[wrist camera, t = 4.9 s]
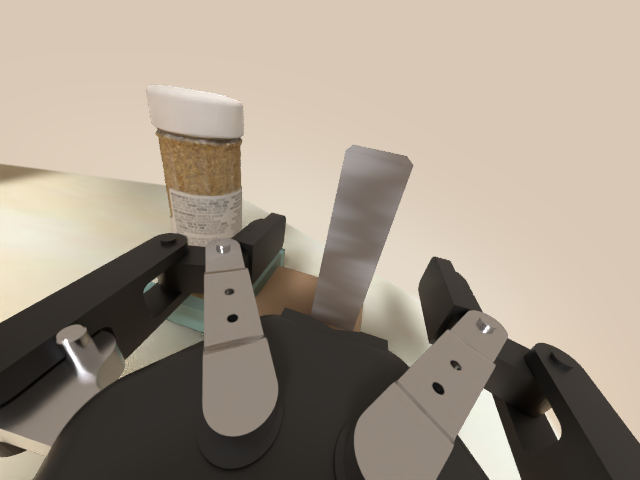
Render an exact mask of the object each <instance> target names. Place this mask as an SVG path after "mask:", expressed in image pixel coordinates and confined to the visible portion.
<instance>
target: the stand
mask: <svg viewBox="0 0 640 480" xmlns="http://www.w3.org/2000/svg"><path fill="white" fill-rule="evenodd" d="M412 168H413V164H412V163H411V162H410V160H409V159H408V157H407V156H404V155H399V154H394V153H390V152H385V151H380V150H376V149H371V148H366V147H361V146H357V145H352V146H351V147H350V148H348V149H347V150H346V152H345V157H344V161H343V166H342V170H341V175H340V180H339V184H338V189H337V194H336V198H335V203H334V208H333V212H332V217H331V222H330V226H329V231H328V236H327V240H326V245H325V250H324V254H323V259H322V264H321V269H320V273H319V278H318V277H315V276H312V275H308V274H305V273H301V272H298V271H295V270H291V269H288V268H284V267H283V263H284V254H285V249H283V248H281V250H280V252H279V253H278V254H277V255H276V257H275V258H274V259H273V260H272V262H271V263H270V264H269V265H268V267H267V268H266V269H265V270H264V272H263V273H262V274H261V276H260V277H259V278H258V279H257V281H256V282H255V283H254V284H253V286H252V287H253V292H254V296H255V300H256V304H257V309H258V313H259V316H263V315H271V314H278V315H281V314H282V312H283V310H284V308H288V309H292V310H295V311H298V312H301V313H304V314H307V315H310V316H311V317H313V318H315V319H317V320H318V321H320V322H322V323H323V324H325V325H327V326H329V327H330V328H332V329H336V330H346V331H356V332H360V327H361V318H362V308H363V302H364V299H365V296H366V294H367V291H368V288H369V285H370V283H371V280H372V277H373V274H374V272H375V269H376V266H377V263H378V261H379V258H380V255H381V252H382V250H383V247H384V244H385V241H386V239H387V236H388V233H389V231H390V228H391V225H392V222H393V220H394V217H395V214H396V211H397V209H398V205H399V203H400V200H401V197H402V195H403V192H404V189H405V187H406V184H407V181H408V178H409V176H410V173H411V170H412ZM154 285H155V283H152V282H150V283H148V285H147V286H146V287H145V289H144V292H143V294H144V293H145V292H146V291H147V290H149V289H150V288H151V287H152V286H154ZM166 320H169V321H172V322H175V323H177V324H180V325H183V326H186V327H189V328H192V329H194V330H197V331H200V332H203V333H204V299H201V298H198V297H195V296H192V295H190V296H189V297H188V298H187V299H186V300H185V301H184V302H183V303H182V304H181V305H180V306H179V307H178V308H177V309H176V310H175V311H174V312H173V313H172V314H171V315H170V316H169V317H168V318H167V319H166Z"/></svg>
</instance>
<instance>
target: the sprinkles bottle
mask: <svg viewBox="0 0 640 480" xmlns="http://www.w3.org/2000/svg"><path fill="white" fill-rule="evenodd" d="M146 93H147V99H148V105H149V112H150V117H151V123H152V124H153V125H154V126H155V127H156V128H157V129H158V130H157V132H156V135H157V136H158V137H159V144H160V150H161V156H162V161H163V168H164V174H165V183H166V189H167V190H166V191H167V194H168V200H169V207H170V214H171V216H170V219H171V225H172V230H173V233H178V234H182V235H184V236H186V237H187V239H188V245H191V246H203V247H206V245H207V244H208V243H209V242H210V241H212V240H215V239H220V238H228V239H230V238H232V237H233V236H234V235H236V234H237V233H238V232H240V231H241V230H242V186H241V170H240V167H241V166H240V165H241V162H240V161H241V160H240V157H241V152H240V146H241V143H242V139H241V138H240V137H242V136H243V133H244V124H243V105H242V103H241V102H240V101H238V100H236V99H233V98H229V97H227V96H223V95H219V94H213V93H208V92H203V91H198V90H192V89H187V88H181V87H175V86H168V85H149V86H147V89H146ZM191 295H192V296H195V297H198V298H201V299H204V294H202V293H192V294H191Z"/></svg>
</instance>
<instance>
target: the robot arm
mask: <svg viewBox="0 0 640 480" xmlns="http://www.w3.org/2000/svg"><path fill="white" fill-rule="evenodd" d="M285 224H286V217H285V216H283V215H279V214H275V213H271V214H270V215H269V216H267V217H266V218H265V219H258V220H255V221H253V222H251V223H250V224H249V225H248V226H246V227H245V228H244V229H242V230H241V231H240V232H238V233H237V234H236V235H234V236H233V237H232V238H230V239H228V238H220V239H215V240H212V241H210V242H209V243H208V244H207V245H206V247H203V246H191V245H188V239H187V237H186V236H184V235H182V234H178V233H167V234H161V235H158V236H156V237H154V238H152V239H150V240H148V241H146V242H145V243H143V244H141V245H139V246H137V247H136V248H134V249H132V250H130V251H128V252H127V253H125V254H123V255H121V256H119V257H118V258H116V259H114V260H112V261H111V262H109V263H107V264H105V265H103V266H102V267H100V268H98V269H96V270H94V271H93V272H91V273H89V274H87V275H85V276H84V277H82V278H80V279H78V280H77V281H75V282H73V283H71V284H69V285H68V286H66V287H64V288H62V289H60V290H59V291H57V292H55V293H53V294H51V295H50V296H48V297H46V298H44V299H43V300H41V301H39V302H37V303H35V304H34V305H32V306H30V307H28V308H26V309H25V310H23V311H21V312H19V313H17V314H16V315H14V316H12V317H10V318H8V319H7V320H5V321H3V322H1V323H0V457H9V456H13V455H16V454H19V453H22V452H24V451H26V450H29V451H32V452H35V453H37V454H40V455H43V456H46V458H45V460H44V462H43V463H42V465H41V467H40V469H39V470H38V472H37V474H36V475H35V477H34V478H33V480H489V478H488V477H487V475H486V474H485V473H484V471H483V470H482V468H481V467H480V465H479V464H478V463H477V461H476V460H475V458H474V457H473V456H472V454H471V453H470V451H469V450H468V448H467V447H466V446H465V444H464V443H463V441H462V440H461V439H460V437H459V436H458V433H459V431H460V429H461V427H462V425H463V424H464V422H465V420H466V418H467V416H468V415H469V413H470V411H471V409H472V408H473V406H474V404H475V402H476V400H477V399H478V397H479V395H480V393H481V391H482V390H483V388H484V389H486V390H487V391H489V392H491V393H492V395H493V398H494V401H495V404H496V407H497V410H498V413H499V416H500V419H501V422H502V425H503V428H504V430H505V433H506V436H507V439H508V442H509V445H510V448H511V451H512V454H513V457H514V460H515V463H516V466H517V468H518V471H519V474H520V477H521V480H640V443H639V442H638V441H637V439H636V438H635V437H634V436H633V434H632V433H631V432H630V430H629V429H628V428H627V426H626V425H625V424H624V422H623V421H622V420H621V418H620V417H619V416H618V414H617V413H616V412H615V410H614V409H613V408H612V406H611V405H610V404H609V402H608V401H607V400H606V398H605V397H604V396H603V394H602V393H601V392H600V390H599V389H598V388H597V387H596V385H595V384H594V382H593V381H592V380H591V378H590V377H589V376H588V374H587V373H586V372H585V370H584V369H583V368H582V367H581V366H580V365H579V364H578V363H577V362H576V361H575V360H574V359H573V358H571V357H570V356H569V355H568V354H566V353H565V352H563V351H561V350H560V349H558V348H556V347H554V346H551V345H549V344H545V343H537V344H536V345H535V346H534V347H533V348H532V349H531V350H530V349H528V348H526V347H524V346H522V345H520V344H518V343H516V342H514V341H512V340H510V339H508V334H507V332H506V330H505V329H504V327H503V326H502V325H501V324H500V323H499V322H498V321H497V320H495V319H494V318H492V317H491V316H489V315H487V314H485V313H483V312H482V310H481V308H480V306H479V304H478V302H477V300H476V298H475V296H474V295H473V293H472V291H471V289H470V287H469V285H468V283H467V281H466V280H465V279H464V278H463V277H462V276H461V275H460V274H459V273H457V272H455V270H454V267H453V265H452V263H451V261H449V260H446V259H442V258H438V257H433V258H432V259H431V260H430V262H429V264H428V266H427V269H426V270H425V272H424V274H423V276H422V278H421V280H420V283H419V288H418V291H419V296H420V301H421V306H422V311H423V316H424V321H425V326H426V330H427V335H428V340H429V343H430V344H433V345H432V346H431V347H430V348H429V349H428V350H427V351H426V352H425V353H424V354H423V355H422V356H421V357H420V358H419V359H418V360H417V361H416V362H415V363H414V364H413V365H412V366H411V367H410V368H409V366H408V365H407V364H406V363H405V362H404V361H402V360H401V359H400V358H399V357H398V356H396V355H395V354H393V353H392V352H390V351H389V350H388V341H387V340H384V339H381V338H378V337H375V336H372V335H369V334H366V333H363V332H356V331H346V330H336V329H332V328H330V327H329V326H327V325H325V324H323V323H322V322H320V321H318V320H317V319H315V318H313V317H311V316H310V315H307V314H304V313H301V312H298V311H295V310H292V309H288V308H284V310H283V312H282V314H281V315H278V314H271V315H263V316H259V313H258V309H257V304H256V300H255V296H254V292H253V287H252V286H253V284H254V283H255V282H256V281H257V279H258V278H259V277H260V276H261V274H262V273H263V272H264V270H265V269H266V268H267V267H268V265H269V264H270V263H271V262H272V260H273V259H274V258H275V257H276V255H277V254H278V253H279V252H280V250H281V248H282V246H283V242H284V234H285ZM156 277H157V278H158V283H156V284H155V285H154V286H152V287H151V288H150V289H149V290H147V291H146V292H145V293H144V294H143V292H144V289H145V287H146V286H147V285H148V283H150V282H151V281H152V280H153V279H155V278H156ZM192 293H202V294H204V340H203V341H201V342H199V343H197V344H195V345H192V346H190V347H188V348H186V349H183V350H181V351H179V352H177V353H175V354H172V355H170V356H168V357H166V358H164V359H161V360H159V361H157V362H155V363H152V364H150V365H148V366H146V367H144V368H141V369H139V370H137V371H135V372H132V373H130V374H128V375H126V376H124V377H122V378H120V379H118V378H119V377H120V376H121V374H122V372H123V370H124V368H125V360H126V359H127V358H128V357H129V356H130V355H131V354H132V353H133V352H134V351H135V350H136V349H137V348H138V347H139V346H140V345H141V344H142V343H143V342H144V341H145V340H146V339H147V338H148V337H149V336H150V335H151V334H152V333H153V332H154V331H155V330H156V329H157V328H158V327H159V326H160V325H161V324H162V323H163V322H164V321H165V320H166V319H167V318H168V317H169V316H170V315H171V314H172V313H173V312H174V311H175V310H176V309H177V308H178V307H179V306H180V305H181V304H182V303H183V302H184V301H185V300H186V299H187V298H188V297H189V296H190V295H191V294H192ZM550 408H552V409H553V411H554V413H555V414H556V416H557V418H558V420H559V422H560V425H561V430H562V433H561V437H560V439H559V440H558V439H557V437H556V435H555V433H554V431H553V429H552V427H551V425H550V423H549V422H548V420H547V418H546V416H545V414H544V413H545V412H546V411H548V410H549V409H550Z"/></svg>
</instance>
